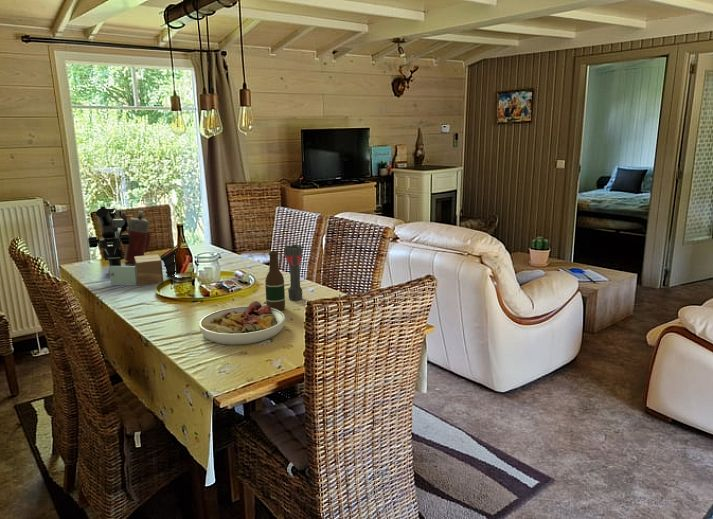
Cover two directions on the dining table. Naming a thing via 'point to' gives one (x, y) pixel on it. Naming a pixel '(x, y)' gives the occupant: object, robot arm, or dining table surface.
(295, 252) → the flashlight
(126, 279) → the door
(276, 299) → the beer bottle
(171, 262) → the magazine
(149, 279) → the walnut box
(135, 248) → the red grey bottle
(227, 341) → the bowl
